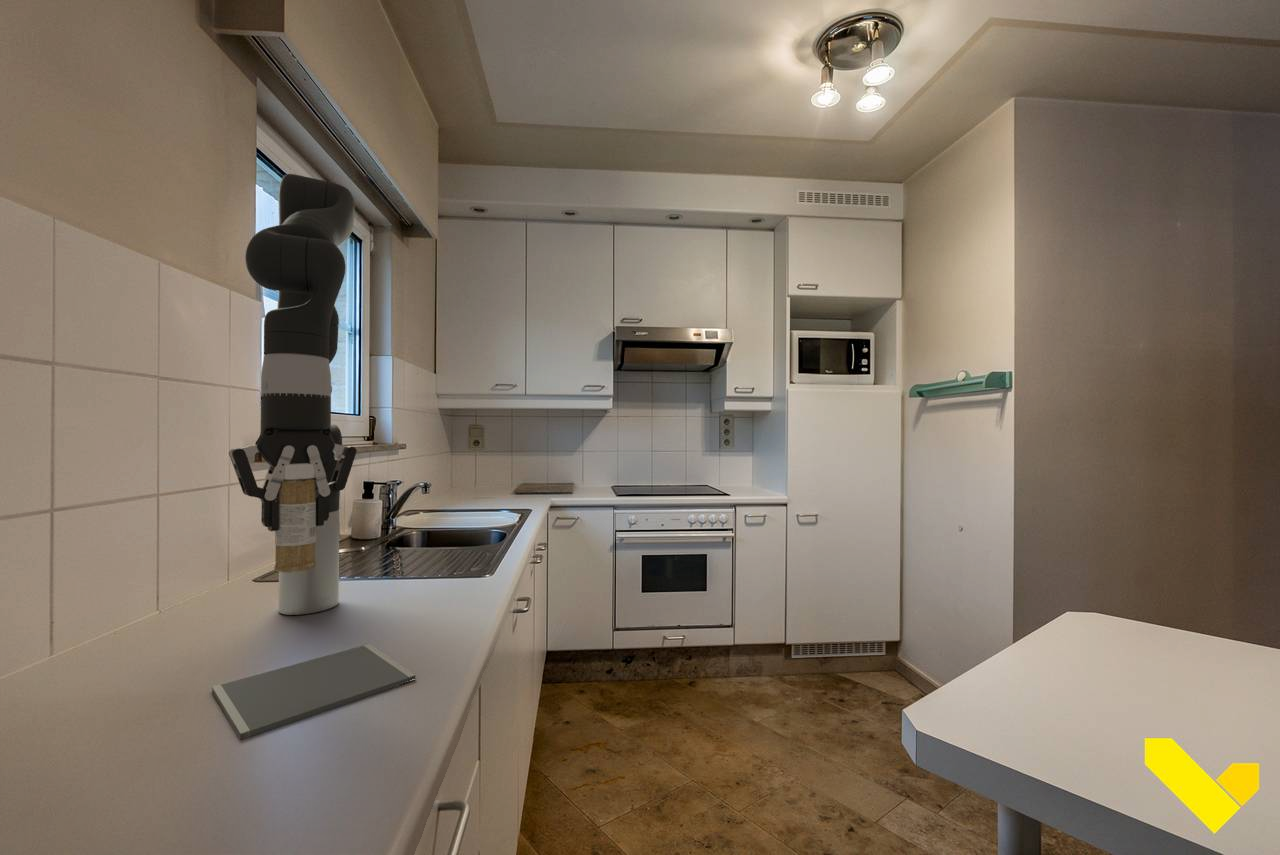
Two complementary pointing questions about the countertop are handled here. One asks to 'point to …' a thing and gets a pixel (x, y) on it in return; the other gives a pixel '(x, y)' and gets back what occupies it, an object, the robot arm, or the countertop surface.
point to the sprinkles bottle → (296, 519)
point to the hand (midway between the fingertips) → (295, 527)
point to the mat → (307, 689)
